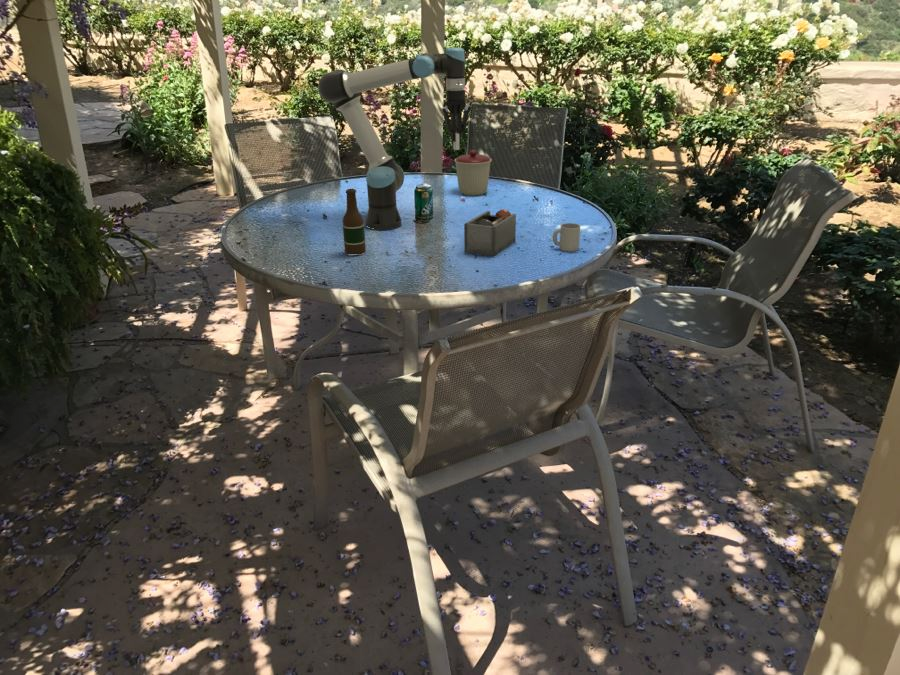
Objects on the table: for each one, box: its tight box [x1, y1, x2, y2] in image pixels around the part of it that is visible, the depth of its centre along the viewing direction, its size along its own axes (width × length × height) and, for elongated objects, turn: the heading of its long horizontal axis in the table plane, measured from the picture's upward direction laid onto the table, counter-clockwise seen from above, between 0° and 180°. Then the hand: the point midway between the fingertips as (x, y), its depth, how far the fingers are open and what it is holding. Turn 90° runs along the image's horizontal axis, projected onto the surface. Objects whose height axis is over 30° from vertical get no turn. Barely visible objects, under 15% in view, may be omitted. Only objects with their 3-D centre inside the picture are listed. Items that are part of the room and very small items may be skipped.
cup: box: [552, 222, 581, 253], centre depth 262 cm, size 7×10×9 cm
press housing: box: [463, 210, 517, 258], centre depth 265 cm, size 20×12×11 cm, turn 152°
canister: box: [453, 149, 493, 197], centre depth 340 cm, size 18×18×21 cm
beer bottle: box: [342, 188, 367, 255], centre depth 258 cm, size 8×8×24 cm
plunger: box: [476, 209, 512, 226], centre depth 266 cm, size 18×8×8 cm, turn 152°
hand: (456, 149), depth 291 cm, fingers closed
